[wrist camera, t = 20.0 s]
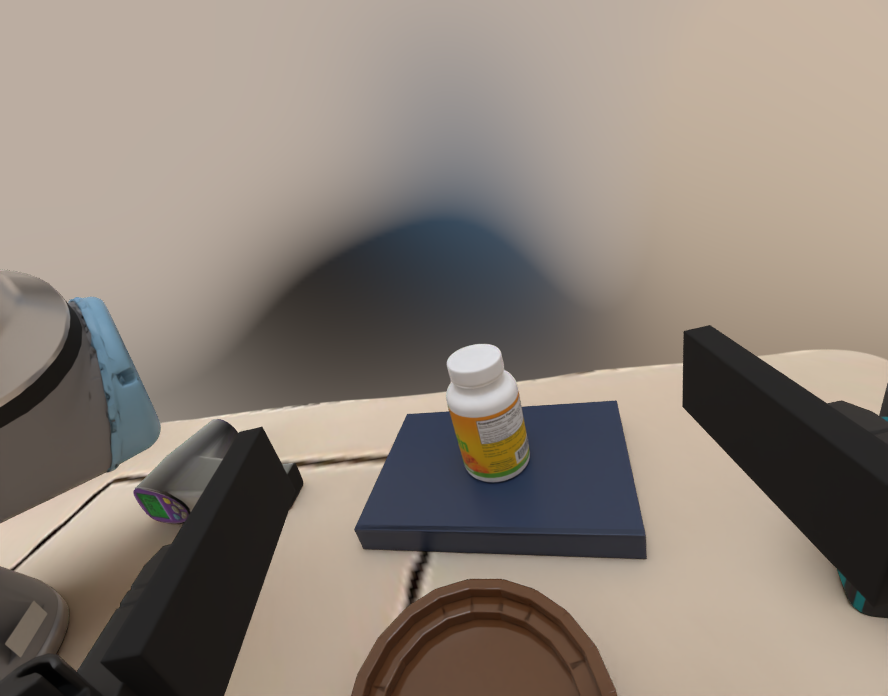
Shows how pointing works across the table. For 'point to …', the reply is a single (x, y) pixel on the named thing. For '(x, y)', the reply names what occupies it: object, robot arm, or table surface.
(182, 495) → the infrared thermometer
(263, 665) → the table surface
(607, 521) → the book
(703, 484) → the table surface
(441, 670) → the brown round tray
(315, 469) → the table surface
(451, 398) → the supplement bottle
